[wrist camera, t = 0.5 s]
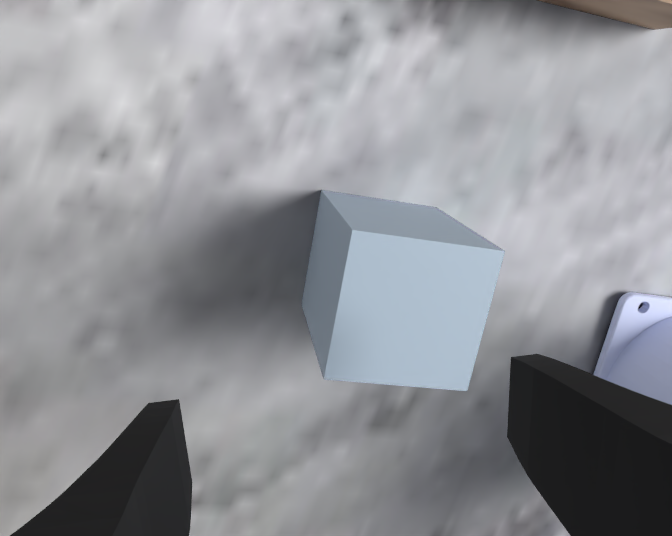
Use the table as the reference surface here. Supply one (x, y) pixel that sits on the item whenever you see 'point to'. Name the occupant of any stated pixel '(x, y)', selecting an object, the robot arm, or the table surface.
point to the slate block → (397, 292)
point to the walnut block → (625, 10)
